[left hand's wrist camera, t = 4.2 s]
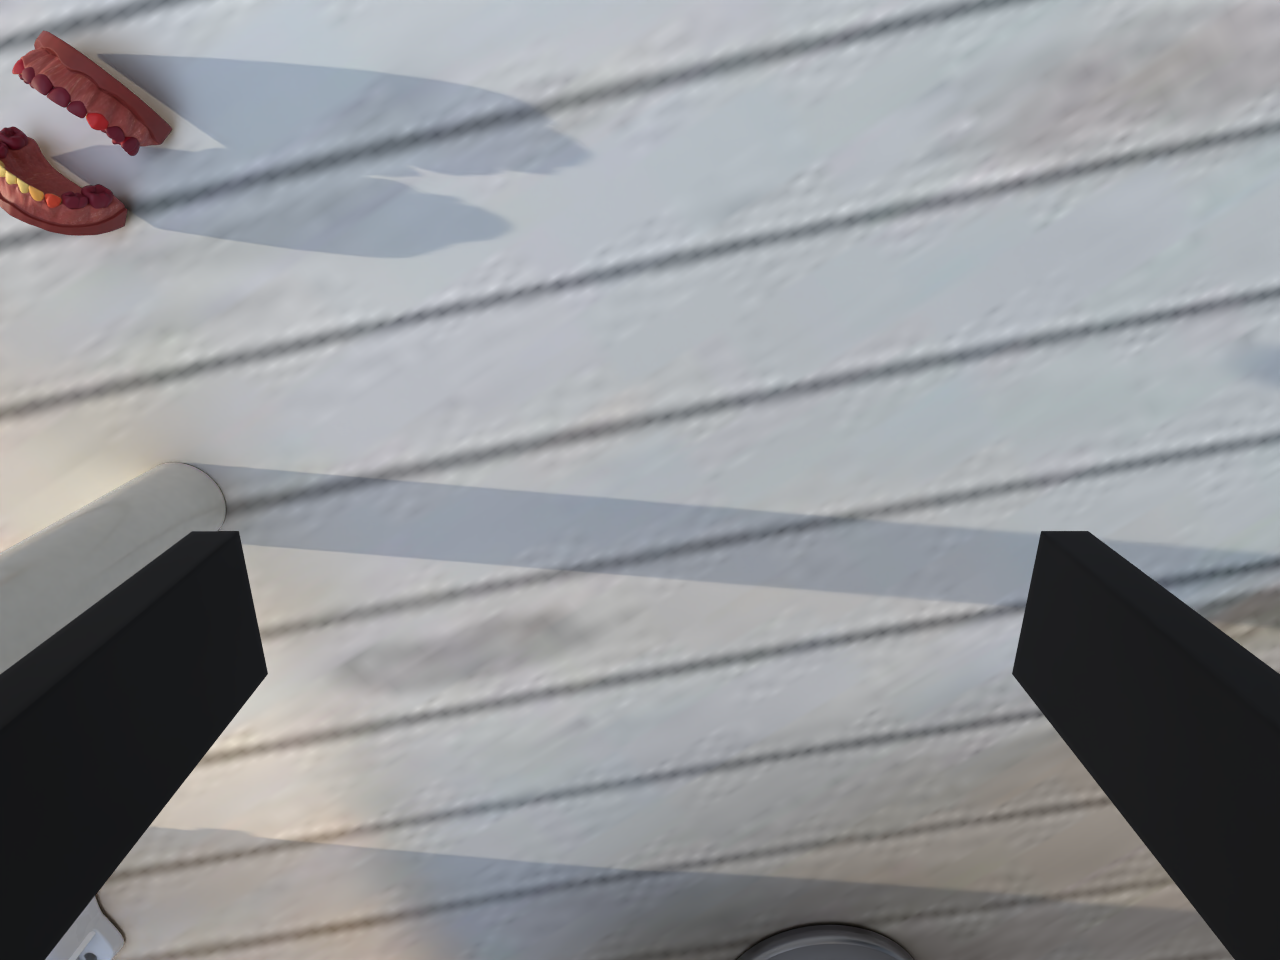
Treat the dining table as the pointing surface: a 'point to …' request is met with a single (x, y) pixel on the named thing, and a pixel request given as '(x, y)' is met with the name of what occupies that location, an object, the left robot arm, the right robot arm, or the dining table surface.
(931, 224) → the dining table surface
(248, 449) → the dining table surface
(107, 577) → the white cylinder
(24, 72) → the dental model
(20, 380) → the dining table surface
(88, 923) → the right robot arm
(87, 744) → the left robot arm
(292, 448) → the dining table surface
